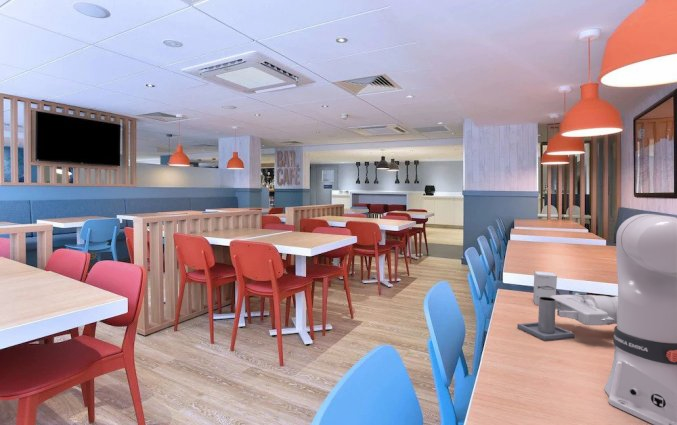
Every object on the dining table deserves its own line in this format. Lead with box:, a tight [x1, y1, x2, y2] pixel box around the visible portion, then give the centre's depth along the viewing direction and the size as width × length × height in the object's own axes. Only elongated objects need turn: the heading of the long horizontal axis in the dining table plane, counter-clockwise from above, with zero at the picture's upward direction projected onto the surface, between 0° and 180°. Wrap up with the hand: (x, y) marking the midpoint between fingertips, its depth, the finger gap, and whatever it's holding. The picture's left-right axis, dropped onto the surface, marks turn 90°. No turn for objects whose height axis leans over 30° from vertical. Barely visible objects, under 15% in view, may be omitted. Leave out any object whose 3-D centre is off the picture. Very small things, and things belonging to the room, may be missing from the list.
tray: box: [516, 321, 575, 342], centre depth 116 cm, size 11×11×2 cm
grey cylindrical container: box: [537, 297, 556, 334], centre depth 116 cm, size 4×4×10 cm
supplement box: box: [532, 270, 558, 306], centre depth 148 cm, size 7×7×13 cm
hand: (550, 308), depth 116 cm, fingers open, 8 cm apart
